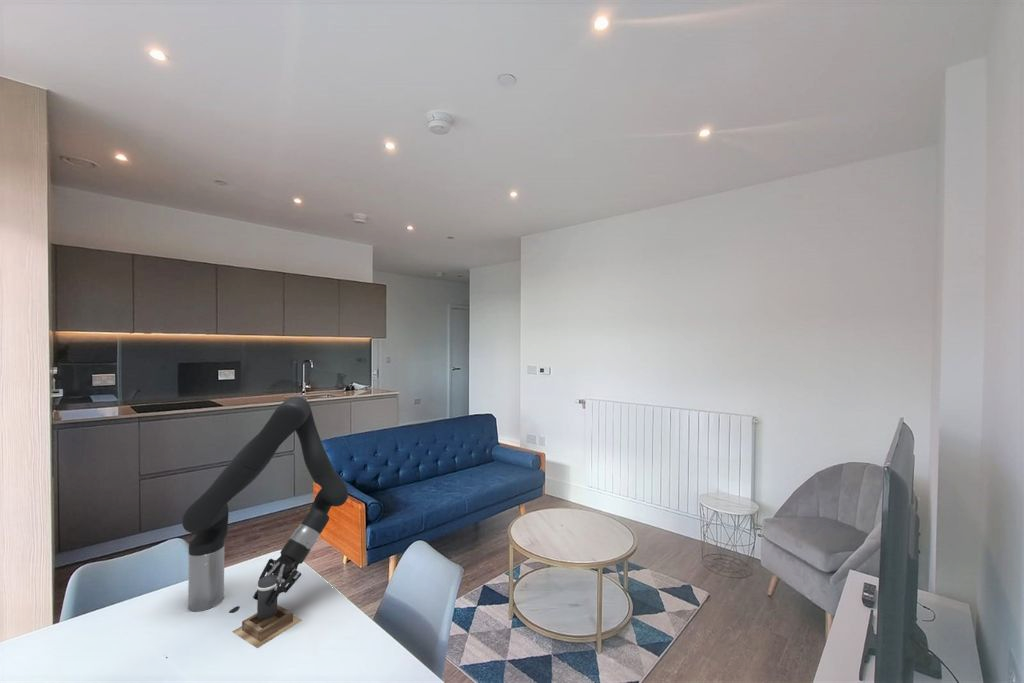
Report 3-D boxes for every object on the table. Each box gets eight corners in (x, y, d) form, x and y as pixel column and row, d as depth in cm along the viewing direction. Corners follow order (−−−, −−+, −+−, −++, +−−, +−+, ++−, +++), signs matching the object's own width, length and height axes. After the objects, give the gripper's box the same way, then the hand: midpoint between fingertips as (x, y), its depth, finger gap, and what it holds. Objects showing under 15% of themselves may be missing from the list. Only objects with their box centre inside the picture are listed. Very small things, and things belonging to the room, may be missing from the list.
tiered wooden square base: (231, 633, 117) (232, 622, 117) (276, 608, 128) (277, 598, 128) (257, 650, 110) (257, 638, 111) (302, 622, 122) (302, 611, 122)
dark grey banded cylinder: (252, 615, 119) (253, 581, 119) (271, 605, 123) (271, 572, 123) (263, 622, 116) (263, 586, 116) (281, 611, 121) (282, 577, 121)
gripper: (279, 532, 130) (237, 590, 119) (307, 544, 123) (266, 606, 112) (294, 542, 134) (256, 598, 124) (322, 554, 127) (284, 614, 117)
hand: (261, 602), depth 118 cm, fingers closed on dark grey banded cylinder, 5 cm apart
